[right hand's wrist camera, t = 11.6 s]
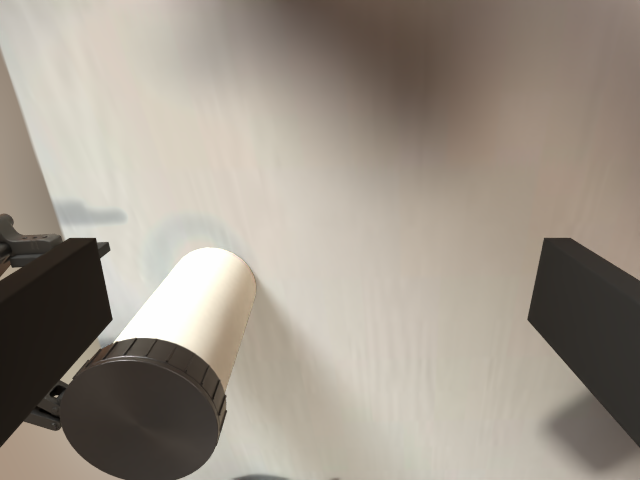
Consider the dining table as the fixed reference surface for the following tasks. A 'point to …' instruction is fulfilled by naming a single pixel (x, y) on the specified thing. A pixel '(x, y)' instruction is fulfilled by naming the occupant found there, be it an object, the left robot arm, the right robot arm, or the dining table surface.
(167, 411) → the lid
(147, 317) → the jar
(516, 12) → the dining table surface
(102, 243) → the left robot arm
